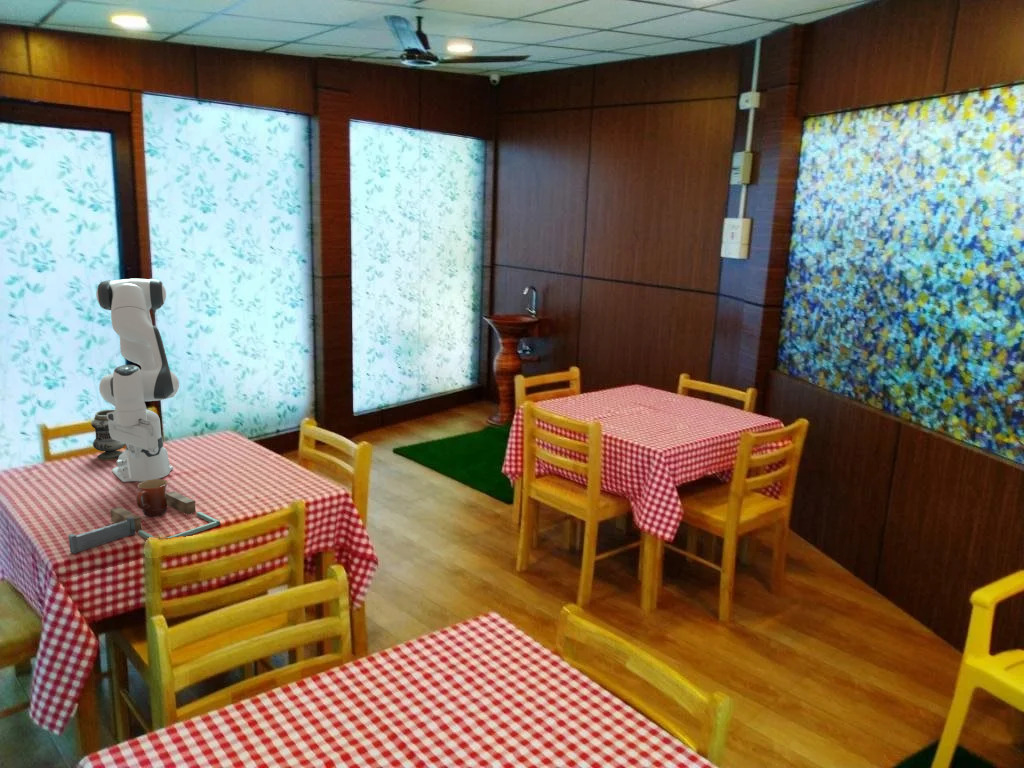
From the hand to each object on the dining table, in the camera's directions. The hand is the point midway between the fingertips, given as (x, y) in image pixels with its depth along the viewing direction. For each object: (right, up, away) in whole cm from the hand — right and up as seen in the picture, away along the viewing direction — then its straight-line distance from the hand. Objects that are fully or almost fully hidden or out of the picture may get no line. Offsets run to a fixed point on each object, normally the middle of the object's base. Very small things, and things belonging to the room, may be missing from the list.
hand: (135, 457), depth 254 cm
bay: (+19, -21, -11) cm, 31 cm away
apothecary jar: (-36, -5, +55) cm, 66 cm away
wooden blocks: (+7, -19, -2) cm, 20 cm away
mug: (+6, -19, -1) cm, 20 cm away
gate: (+1, -23, -21) cm, 32 cm away
